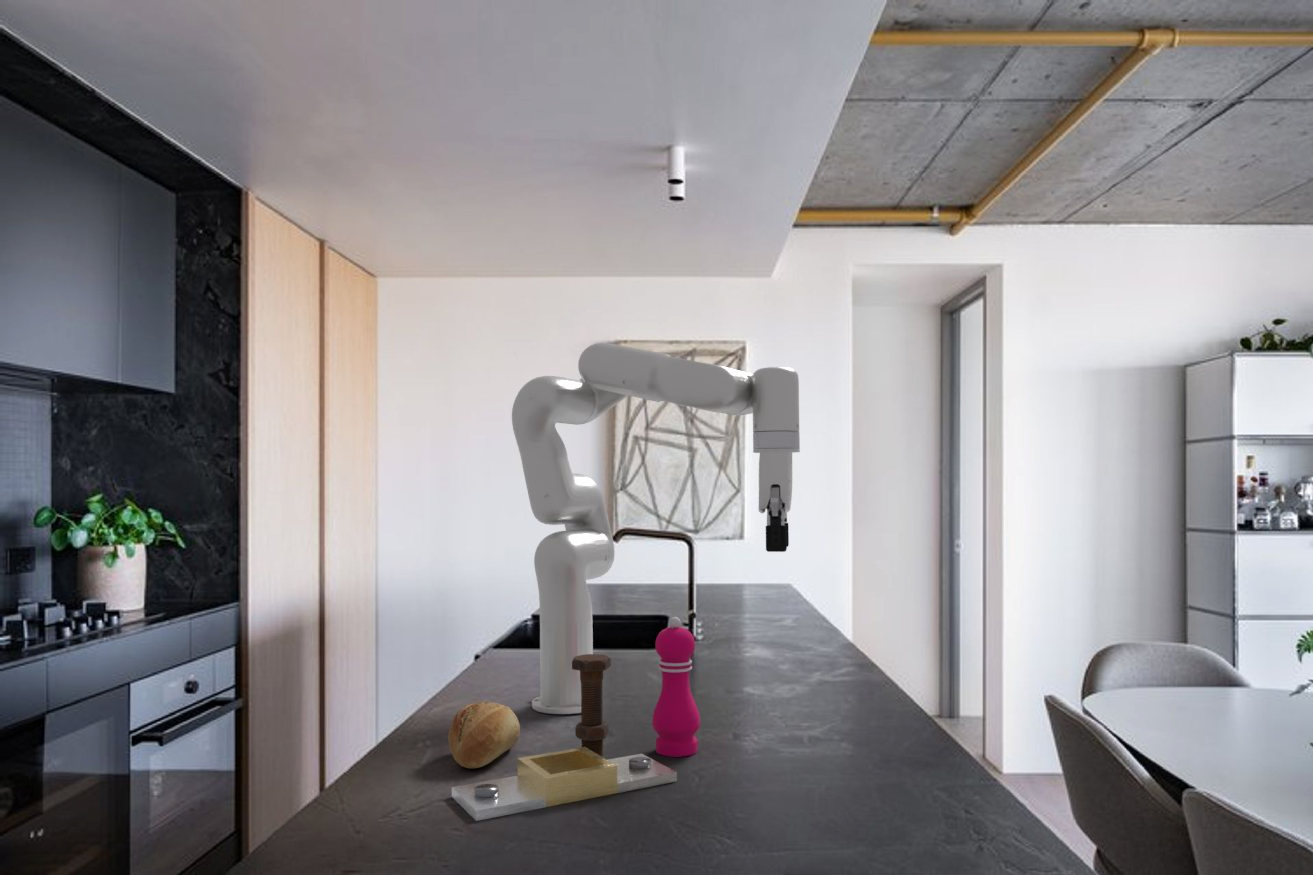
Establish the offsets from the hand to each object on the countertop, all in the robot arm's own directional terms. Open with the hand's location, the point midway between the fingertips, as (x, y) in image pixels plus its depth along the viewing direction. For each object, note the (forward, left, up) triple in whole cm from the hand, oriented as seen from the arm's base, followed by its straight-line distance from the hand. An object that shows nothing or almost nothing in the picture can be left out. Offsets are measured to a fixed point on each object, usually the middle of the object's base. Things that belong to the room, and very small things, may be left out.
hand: (777, 549), depth 148 cm
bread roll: (-12, -45, -30) cm, 56 cm away
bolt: (-2, -32, -30) cm, 44 cm away
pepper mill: (0, -19, -30) cm, 35 cm away
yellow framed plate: (+7, -40, -29) cm, 50 cm away
